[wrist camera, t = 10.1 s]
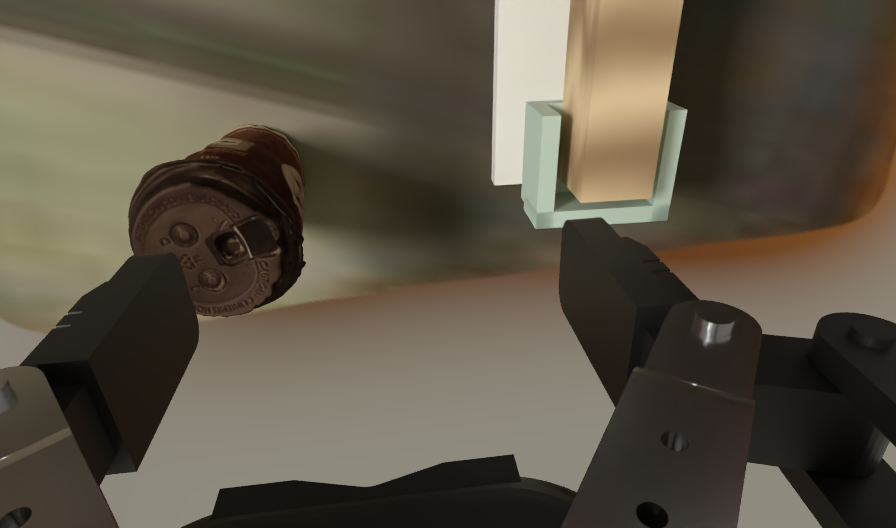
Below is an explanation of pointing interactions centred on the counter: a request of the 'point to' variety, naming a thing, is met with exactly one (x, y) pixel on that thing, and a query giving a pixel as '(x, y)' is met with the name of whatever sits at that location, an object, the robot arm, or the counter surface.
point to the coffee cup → (227, 219)
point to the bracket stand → (555, 121)
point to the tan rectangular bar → (616, 96)
